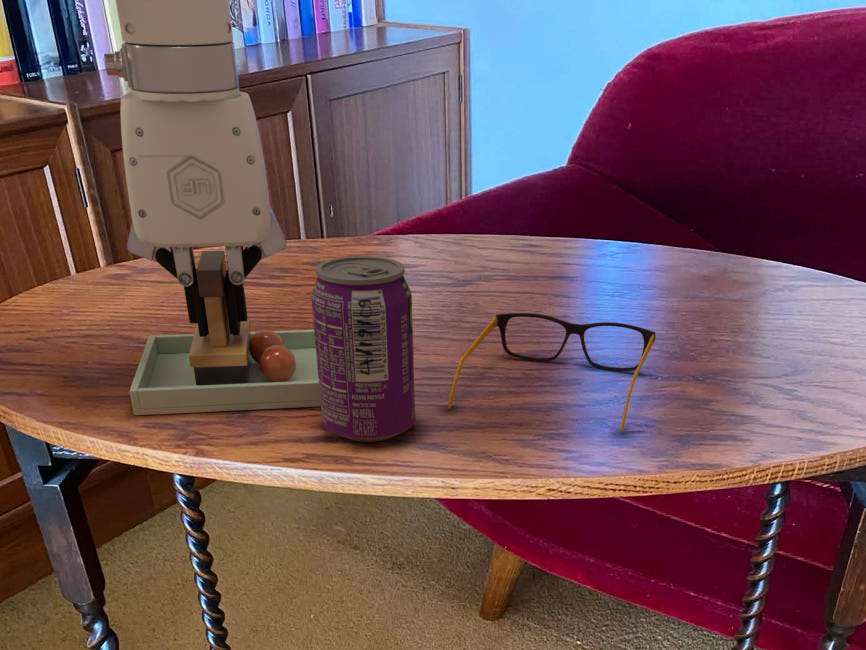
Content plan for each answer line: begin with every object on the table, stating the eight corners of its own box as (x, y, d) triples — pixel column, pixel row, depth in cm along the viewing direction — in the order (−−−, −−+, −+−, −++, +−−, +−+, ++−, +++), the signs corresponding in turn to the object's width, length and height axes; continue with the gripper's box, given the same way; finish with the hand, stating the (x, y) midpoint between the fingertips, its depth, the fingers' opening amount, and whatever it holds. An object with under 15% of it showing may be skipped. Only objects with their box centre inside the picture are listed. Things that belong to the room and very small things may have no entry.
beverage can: (433, 423, 75) (430, 263, 68) (380, 456, 70) (371, 287, 63) (359, 404, 78) (349, 249, 71) (303, 434, 73) (287, 271, 66)
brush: (194, 391, 77) (176, 276, 72) (202, 353, 84) (186, 246, 79) (250, 390, 78) (236, 275, 73) (253, 352, 85) (241, 245, 80)
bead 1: (243, 362, 81) (255, 330, 80) (244, 350, 84) (256, 319, 82) (276, 377, 83) (289, 345, 81) (277, 364, 85) (289, 334, 84)
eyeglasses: (652, 371, 85) (658, 326, 83) (622, 435, 74) (627, 384, 71) (498, 352, 88) (499, 308, 86) (446, 410, 77) (446, 361, 75)
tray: (134, 415, 75) (129, 391, 74) (153, 357, 86) (148, 335, 85) (366, 404, 78) (365, 380, 77) (357, 349, 88) (355, 327, 87)
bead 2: (277, 345, 77) (304, 371, 79) (277, 332, 79) (303, 359, 81) (250, 369, 78) (278, 395, 79) (252, 356, 80) (278, 382, 82)
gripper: (56, 78, 64) (114, 350, 75) (296, 78, 66) (318, 342, 77) (76, 67, 70) (127, 320, 81) (295, 67, 72) (316, 313, 83)
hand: (220, 329), depth 79 cm, fingers closed on brush
